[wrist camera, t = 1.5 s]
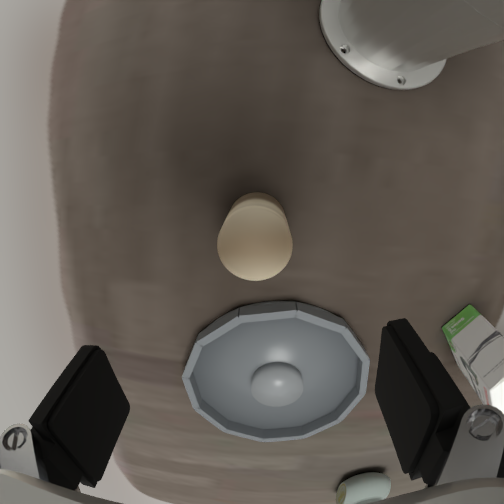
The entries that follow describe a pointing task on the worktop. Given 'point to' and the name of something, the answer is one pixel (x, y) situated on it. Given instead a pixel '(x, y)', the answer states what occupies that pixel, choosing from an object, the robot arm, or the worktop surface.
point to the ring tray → (276, 371)
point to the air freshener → (364, 488)
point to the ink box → (478, 354)
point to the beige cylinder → (255, 238)
